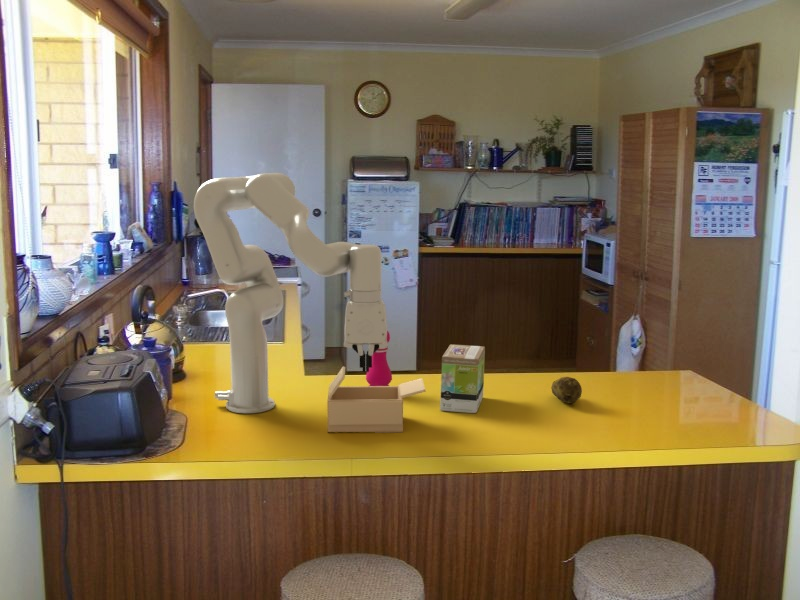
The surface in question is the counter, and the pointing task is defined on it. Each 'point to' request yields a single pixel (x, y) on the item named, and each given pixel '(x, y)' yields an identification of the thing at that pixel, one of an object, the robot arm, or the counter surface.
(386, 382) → the pepper mill
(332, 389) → the left flap
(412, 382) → the right flap
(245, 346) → the robot arm
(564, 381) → the potato
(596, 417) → the counter surface
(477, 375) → the tea box
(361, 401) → the carton
